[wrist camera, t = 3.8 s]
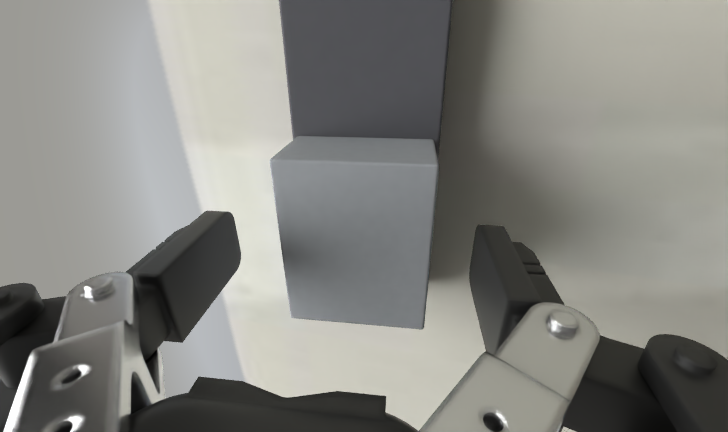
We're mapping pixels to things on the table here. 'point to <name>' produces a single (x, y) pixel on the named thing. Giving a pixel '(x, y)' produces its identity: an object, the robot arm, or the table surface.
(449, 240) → the table surface
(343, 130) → the stepped grey block
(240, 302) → the table surface
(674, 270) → the table surface
